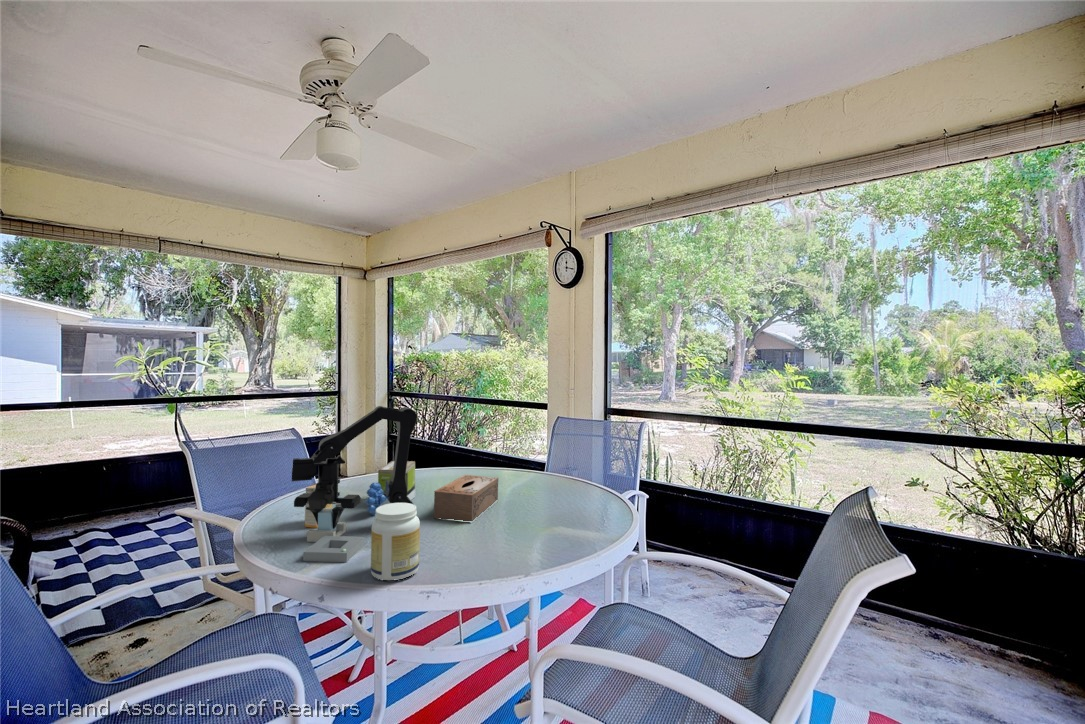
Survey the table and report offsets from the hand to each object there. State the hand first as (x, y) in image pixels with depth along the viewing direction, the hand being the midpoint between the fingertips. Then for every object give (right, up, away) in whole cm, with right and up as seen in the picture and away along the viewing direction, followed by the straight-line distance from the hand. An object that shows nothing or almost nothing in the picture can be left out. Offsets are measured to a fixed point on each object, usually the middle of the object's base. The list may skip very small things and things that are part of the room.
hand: (327, 528), depth 147 cm
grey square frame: (0, -3, 0) cm, 3 cm away
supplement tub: (+29, -4, -23) cm, 37 cm away
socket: (+8, -3, -12) cm, 15 cm away
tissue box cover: (+39, -4, +29) cm, 49 cm away
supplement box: (-8, -3, +11) cm, 14 cm away
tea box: (+10, -3, +37) cm, 38 cm away
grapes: (+8, -3, +21) cm, 23 cm away
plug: (0, -3, 0) cm, 2 cm away
